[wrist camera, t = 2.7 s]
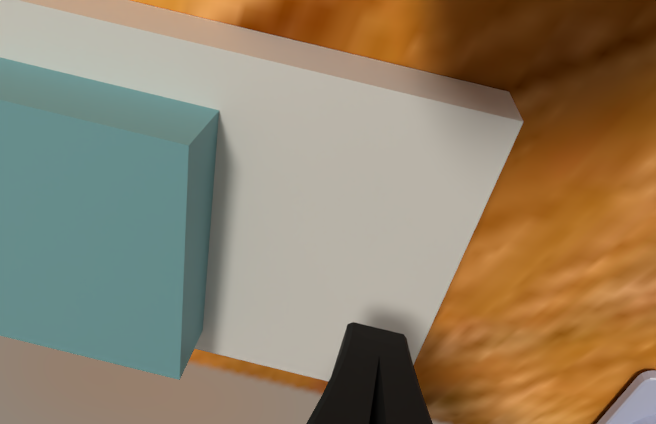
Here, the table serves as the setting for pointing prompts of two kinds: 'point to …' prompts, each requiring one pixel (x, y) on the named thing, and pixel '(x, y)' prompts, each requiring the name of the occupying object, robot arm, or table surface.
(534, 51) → the table surface
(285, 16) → the table surface
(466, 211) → the plinth
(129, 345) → the tile
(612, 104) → the table surface
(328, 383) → the robot arm
